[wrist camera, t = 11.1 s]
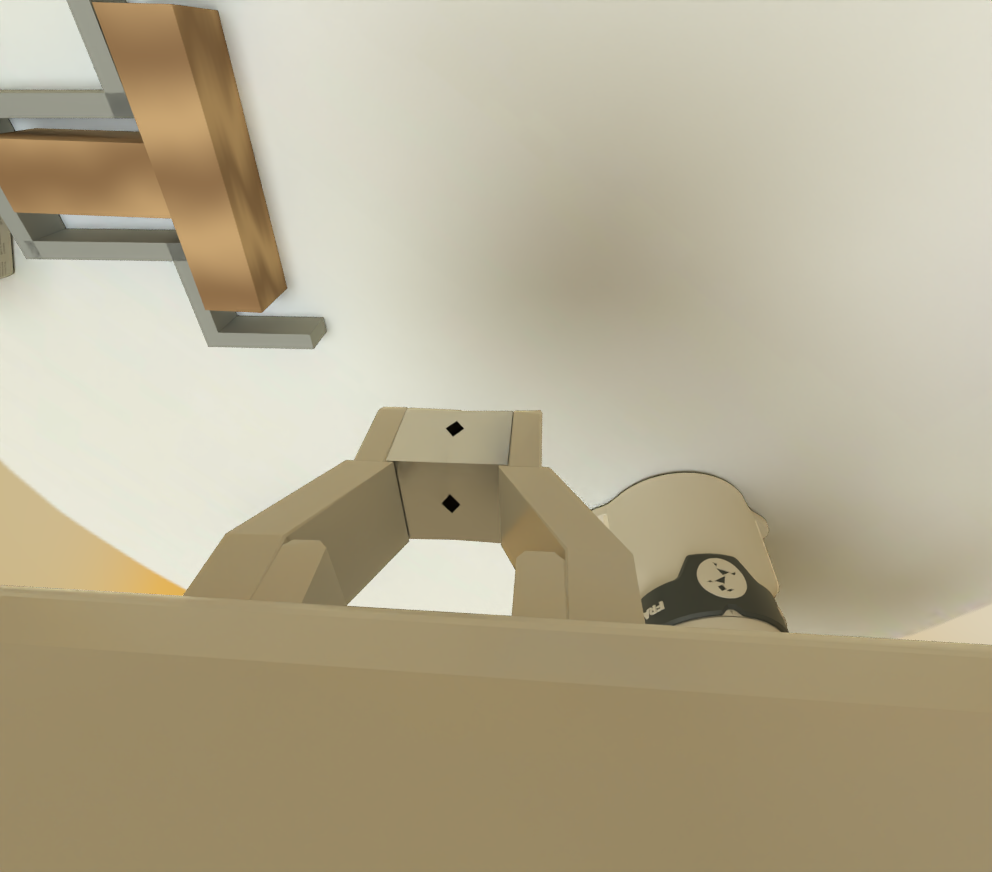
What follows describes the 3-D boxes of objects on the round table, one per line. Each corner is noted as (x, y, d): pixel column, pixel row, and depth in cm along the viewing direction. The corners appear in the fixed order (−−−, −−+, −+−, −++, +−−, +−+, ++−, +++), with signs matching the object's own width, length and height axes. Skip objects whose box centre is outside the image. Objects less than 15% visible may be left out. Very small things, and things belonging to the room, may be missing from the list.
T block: (287, 288, 37) (261, 312, 34) (108, 280, 38) (65, 304, 34) (217, 10, 27) (172, 4, 24) (-24, 4, 28) (-105, -3, 24)
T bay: (326, 331, 39) (313, 349, 37) (103, 326, 40) (76, 343, 38) (232, -64, 25) (202, -76, 23) (-106, -58, 26) (-168, -69, 24)
